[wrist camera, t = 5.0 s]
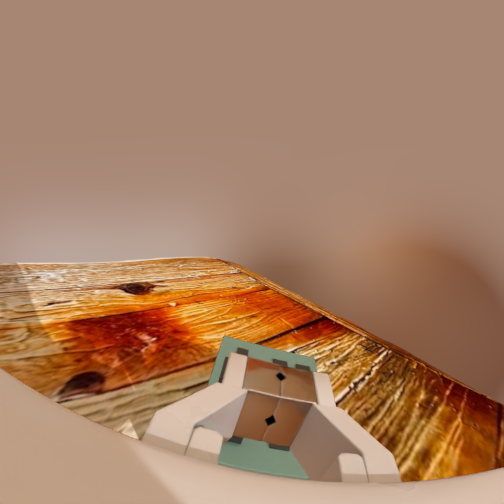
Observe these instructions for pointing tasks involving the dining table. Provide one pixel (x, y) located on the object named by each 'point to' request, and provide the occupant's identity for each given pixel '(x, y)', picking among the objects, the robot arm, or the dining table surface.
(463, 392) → the dining table surface
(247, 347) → the toaster
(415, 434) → the dining table surface
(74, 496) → the robot arm
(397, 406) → the dining table surface
